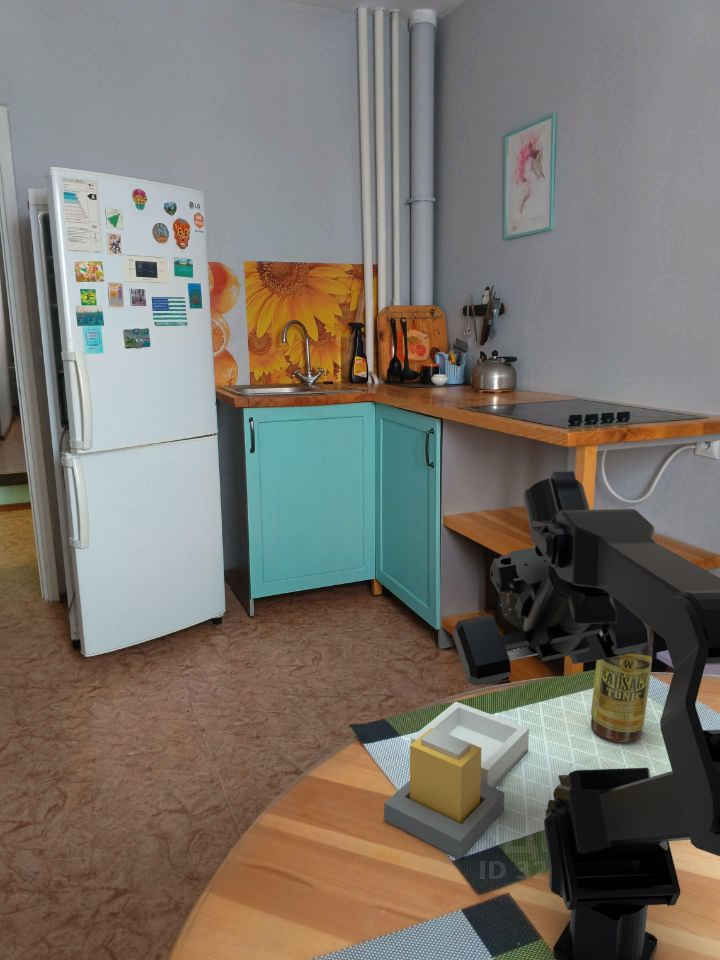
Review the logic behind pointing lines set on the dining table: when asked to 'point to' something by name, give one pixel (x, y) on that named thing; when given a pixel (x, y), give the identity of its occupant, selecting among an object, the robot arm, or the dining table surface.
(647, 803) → the robot arm
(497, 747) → the tray
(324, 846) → the dining table surface
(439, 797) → the block
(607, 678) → the sauce bottle
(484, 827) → the grey square frame
